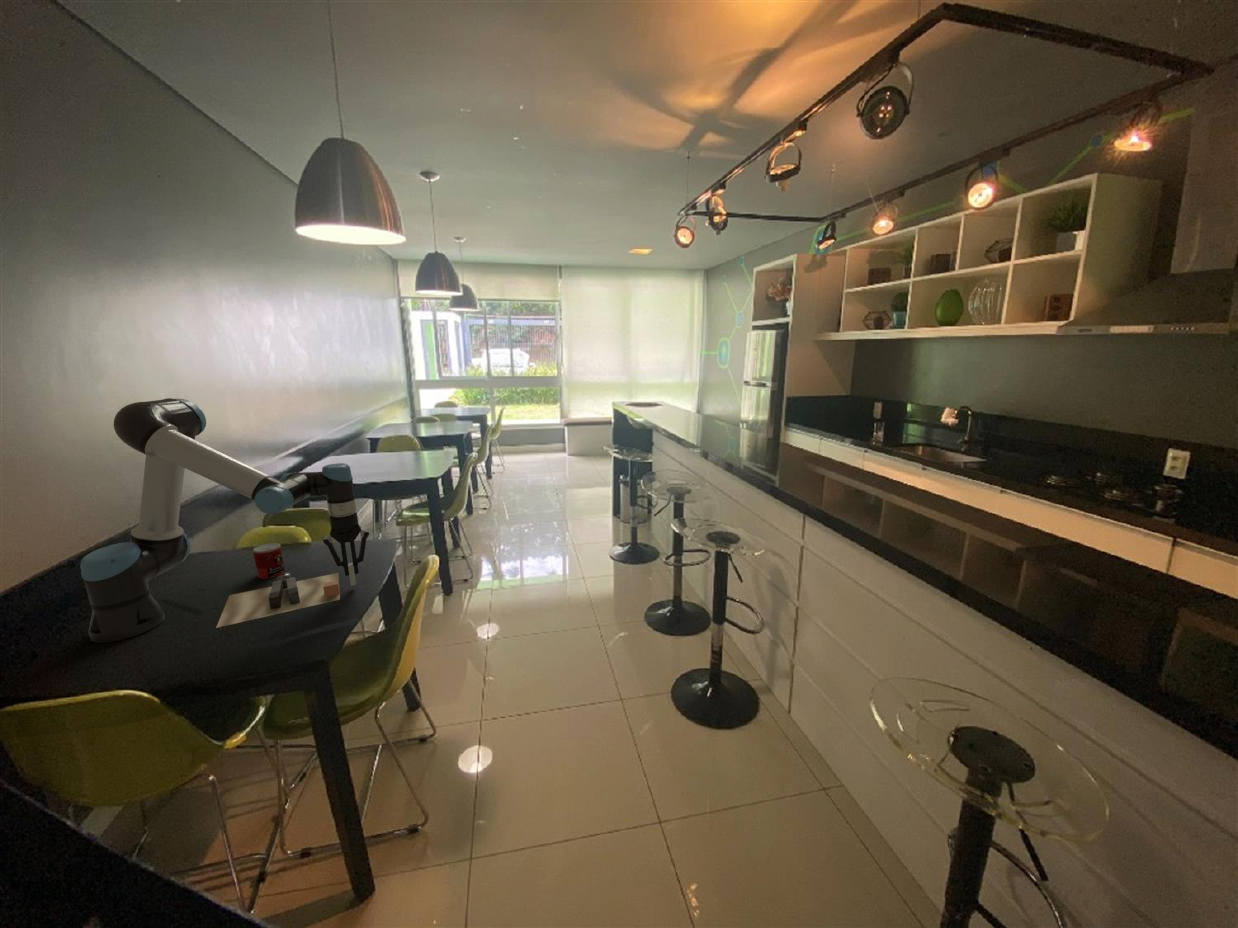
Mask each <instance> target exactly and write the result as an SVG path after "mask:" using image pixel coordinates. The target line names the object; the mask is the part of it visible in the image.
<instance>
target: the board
mask: <svg viewBox="0 0 1238 928" xmlns="http://www.w3.org/2000/svg"><path fill="white" fill-rule="evenodd" d="M339 575H340V574H339V572H336V573H331V574H327V575H321V576H317V577H312V578H307V579H301V580H296V584H297V588H298V593H299V599H300V603H296V604H292V605H290V601H289V595H288V588H284V592H283V598H282V604H281V607H280V608H276V609H270V603H269V595H270V592H271V588H272V586H268V587H263V588H258V589H255V590H254V589H253V590H248V591H244V592H240V593H239V592H238V593H234V594H229V595H228V598H227V600H226V603H225V606H224V608H223V609H222V613H221V615H220V617H219V620H218V622H217V625H216V627H215V629H217V628H218V629H219V628H222V627H226V626H230V625H231V626H232V625H236V624H239V623H244V622H248V621H253V620H257V619H261V618H266V617H270V616H274V615H278V614H283V613H287V612H288V613H289V612H292V611H296V610H301V609H305V608H309V607H310V608H311V607H314V606H318V605H321V604H322V605H323V604H327V603H331V602H335V601H340V600H341V596H340V595H341V593H340V594H338V595H334V596H329V597H325V595H324V589H323V583H327V582H332V581H336V580H338V584H339V585H340V576H339Z"/></svg>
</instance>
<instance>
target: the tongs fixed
mask: <svg viewBox="0 0 1238 928" xmlns="http://www.w3.org/2000/svg"><path fill="white" fill-rule="evenodd" d="M276 577H277V580H275V581H273V582H272V583H271V584H272V585H271V587H272V588H271V592H270V595H269V603H270V609H276V608H280V607H281V604H282V598H283V592H284V588H288V587H287V580H286V579H288V578H292V573H291V572H290V571H288V572H287V571H285V572H284V573H281V574H279V575H278V576H276Z"/></svg>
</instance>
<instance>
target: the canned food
mask: <svg viewBox="0 0 1238 928" xmlns="http://www.w3.org/2000/svg"><path fill="white" fill-rule="evenodd" d="M281 547H282V546H281V544H280V543H278V542H277V543H276V542H272V543H271V542H269V543H264V544H261V545H258V546H255V547H254V548H253V549H252V553H253V557H254V558H253V559H254V563H255V568H256V574H257V578H258V579H265V580H266V579H271V578H276V577H277V576H278V575H279V574H281V573H285V572H286V570H285V569H286V568H285V563H284V557H283V553H282V552H283V551H282V548H281Z"/></svg>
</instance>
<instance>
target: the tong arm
mask: <svg viewBox="0 0 1238 928" xmlns="http://www.w3.org/2000/svg"><path fill="white" fill-rule="evenodd" d="M286 580H287V587H288V595H289V601H290V605H292V604H296V603H300V599H299V593H298V588H297V584H296V581H297V579H296V576H294V577H293V576H291V578H288V579H286Z"/></svg>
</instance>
